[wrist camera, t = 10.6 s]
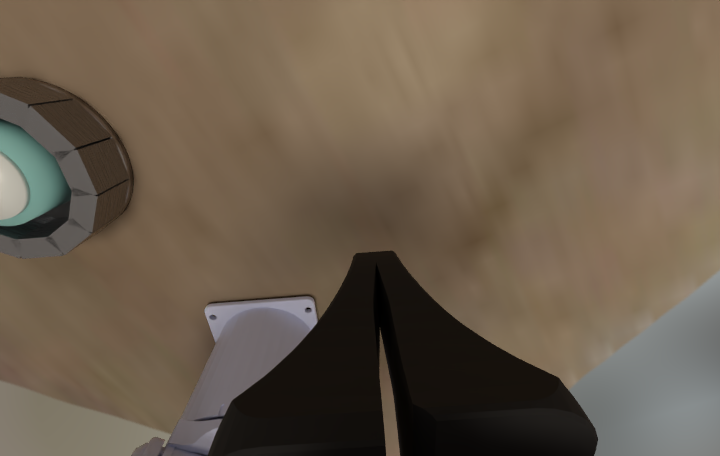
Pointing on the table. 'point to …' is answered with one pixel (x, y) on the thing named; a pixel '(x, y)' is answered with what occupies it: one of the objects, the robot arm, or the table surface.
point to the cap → (27, 177)
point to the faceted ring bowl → (66, 167)
